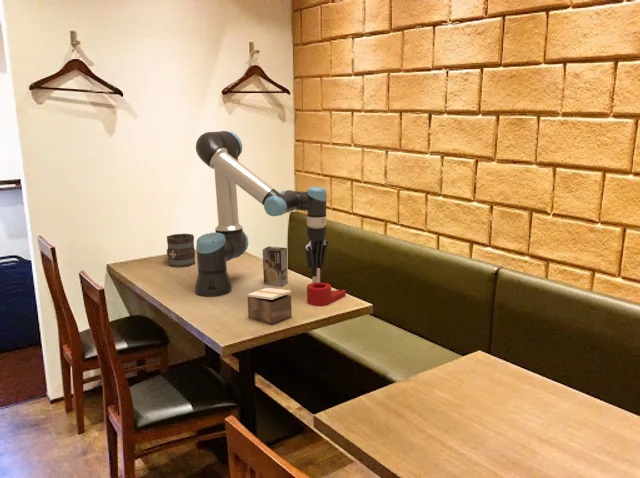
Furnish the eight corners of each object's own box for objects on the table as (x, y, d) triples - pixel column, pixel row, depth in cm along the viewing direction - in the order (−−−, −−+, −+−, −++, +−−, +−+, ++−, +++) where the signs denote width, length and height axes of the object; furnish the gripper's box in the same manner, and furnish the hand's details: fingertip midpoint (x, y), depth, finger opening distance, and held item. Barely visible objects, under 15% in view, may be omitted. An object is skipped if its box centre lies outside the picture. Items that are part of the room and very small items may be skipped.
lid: (247, 296, 203) (247, 294, 203) (266, 289, 211) (266, 287, 210) (271, 299, 195) (271, 297, 195) (290, 292, 203) (290, 290, 203)
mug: (201, 266, 274) (199, 236, 271) (175, 272, 266) (173, 240, 262) (182, 259, 289) (180, 230, 286) (157, 264, 280) (155, 234, 277)
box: (248, 317, 205) (247, 296, 203) (267, 310, 212) (267, 289, 211) (272, 325, 197) (271, 303, 196) (291, 317, 205) (291, 296, 203)
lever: (317, 308, 215) (317, 291, 213) (302, 301, 222) (302, 285, 221) (352, 298, 226) (352, 282, 225) (336, 292, 233) (336, 277, 232)
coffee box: (288, 283, 246) (287, 247, 242) (282, 287, 240) (281, 251, 236) (269, 281, 249) (268, 246, 245) (263, 285, 243) (261, 249, 240)
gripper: (313, 230, 217) (313, 289, 222) (334, 225, 227) (333, 281, 232) (298, 227, 222) (298, 285, 227) (319, 222, 231) (319, 278, 237)
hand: (316, 283), depth 230 cm, fingers closed
